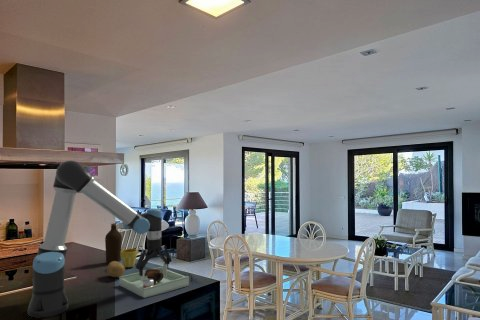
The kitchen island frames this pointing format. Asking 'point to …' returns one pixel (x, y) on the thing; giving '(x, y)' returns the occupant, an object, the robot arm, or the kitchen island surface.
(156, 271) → the pottery mug
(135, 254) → the plant pot
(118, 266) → the potato
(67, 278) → the kitchen island surface
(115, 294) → the kitchen island surface
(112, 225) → the olive oil
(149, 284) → the tin
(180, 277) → the tray
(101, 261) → the kitchen island surface
